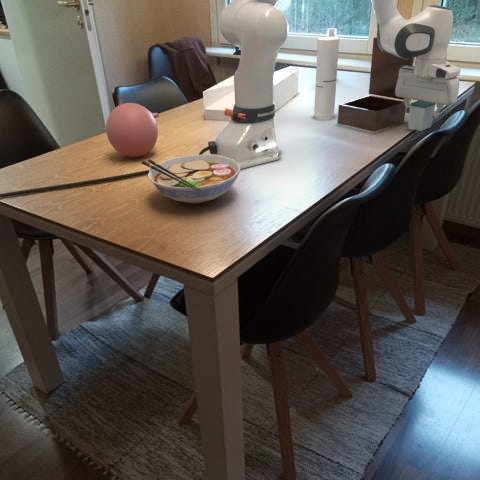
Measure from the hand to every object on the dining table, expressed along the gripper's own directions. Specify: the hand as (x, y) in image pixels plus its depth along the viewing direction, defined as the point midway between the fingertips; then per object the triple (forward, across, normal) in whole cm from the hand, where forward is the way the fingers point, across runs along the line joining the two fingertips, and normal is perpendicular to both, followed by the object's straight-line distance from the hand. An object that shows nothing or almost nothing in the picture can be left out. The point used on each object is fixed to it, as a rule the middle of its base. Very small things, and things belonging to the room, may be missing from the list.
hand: (421, 115), depth 157 cm
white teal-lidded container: (+5, 0, 0) cm, 5 cm away
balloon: (+5, -51, -75) cm, 91 cm away
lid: (-11, -16, +3) cm, 20 cm away
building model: (+5, -67, -12) cm, 68 cm away
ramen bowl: (+5, -10, -84) cm, 85 cm away
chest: (+5, -16, -4) cm, 17 cm away
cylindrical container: (+5, -34, -8) cm, 35 cm away
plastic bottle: (+5, -76, +44) cm, 88 cm away
